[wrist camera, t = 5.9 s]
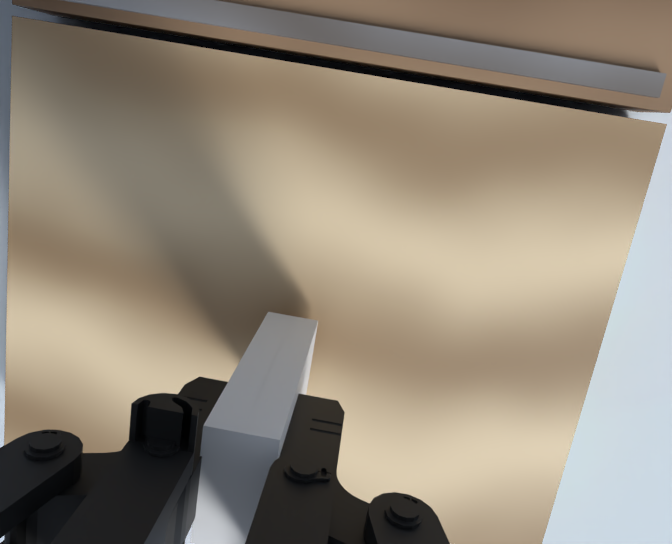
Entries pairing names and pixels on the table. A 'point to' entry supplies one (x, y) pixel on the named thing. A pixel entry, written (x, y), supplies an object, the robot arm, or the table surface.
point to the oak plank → (317, 257)
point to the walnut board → (437, 39)
